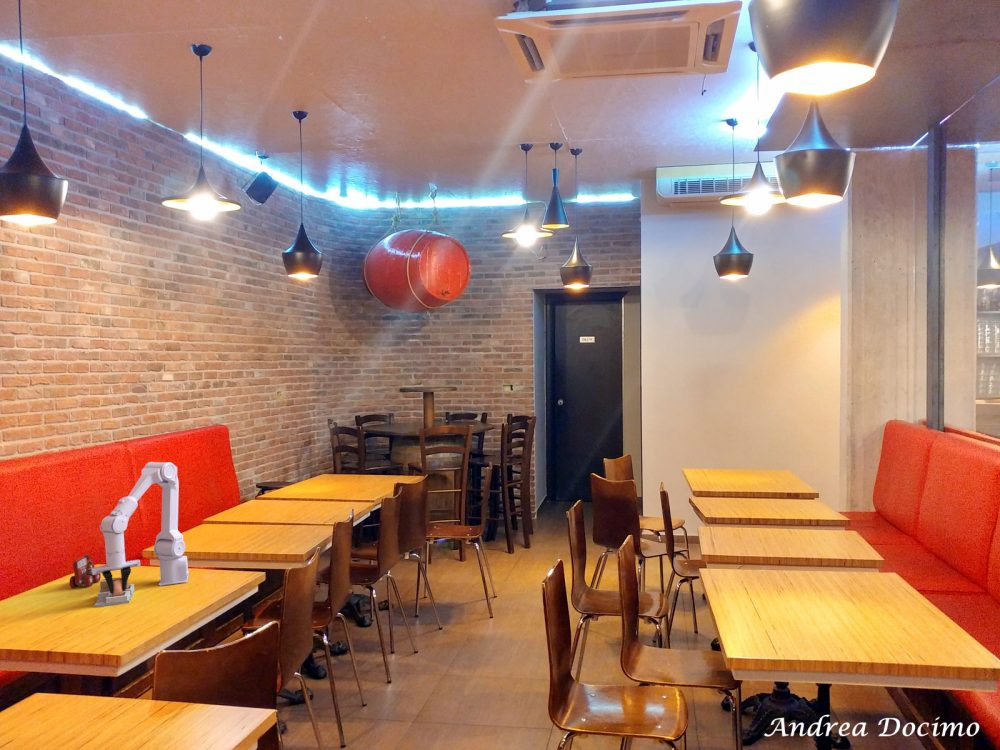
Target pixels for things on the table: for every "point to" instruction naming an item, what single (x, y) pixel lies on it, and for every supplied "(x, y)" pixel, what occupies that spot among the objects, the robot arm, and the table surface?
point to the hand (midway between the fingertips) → (117, 591)
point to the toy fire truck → (83, 572)
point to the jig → (108, 598)
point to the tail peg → (117, 587)
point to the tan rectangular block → (105, 586)
